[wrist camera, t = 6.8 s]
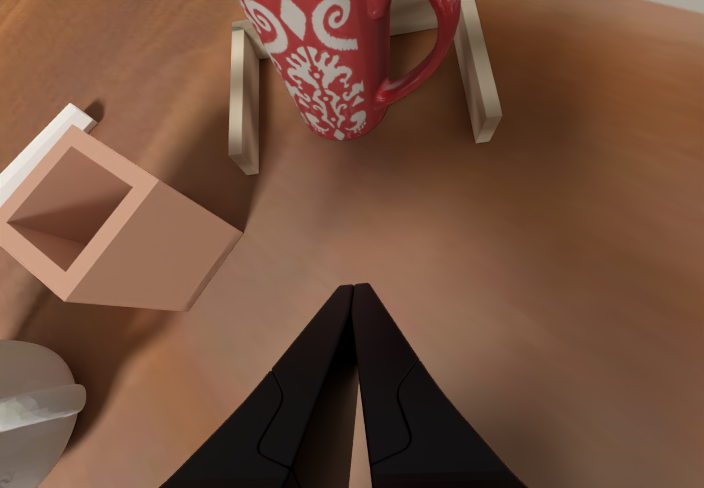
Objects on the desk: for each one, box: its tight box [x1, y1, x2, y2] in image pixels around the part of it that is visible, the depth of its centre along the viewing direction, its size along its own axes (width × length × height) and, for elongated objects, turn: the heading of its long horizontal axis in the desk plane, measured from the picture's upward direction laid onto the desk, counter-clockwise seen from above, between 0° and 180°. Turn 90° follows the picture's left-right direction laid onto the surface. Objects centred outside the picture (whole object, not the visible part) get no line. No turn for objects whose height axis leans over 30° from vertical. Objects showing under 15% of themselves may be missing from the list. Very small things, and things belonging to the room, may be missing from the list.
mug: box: [239, 0, 461, 140], centre depth 19 cm, size 13×9×14 cm
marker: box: [0, 103, 98, 207], centre depth 28 cm, size 3×2×16 cm
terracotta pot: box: [0, 124, 243, 312], centre depth 20 cm, size 7×7×9 cm
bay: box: [228, 0, 503, 175], centre depth 25 cm, size 12×19×3 cm, turn 95°
